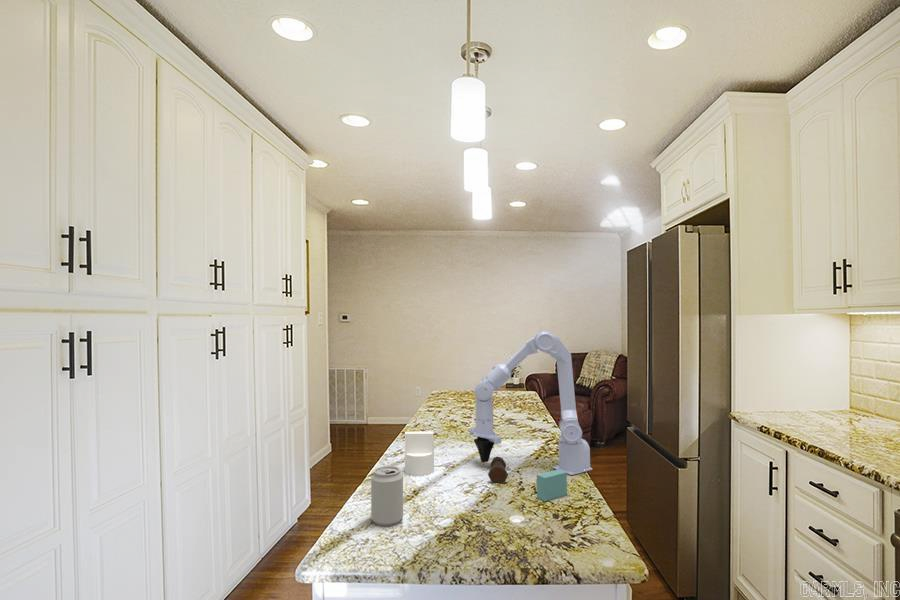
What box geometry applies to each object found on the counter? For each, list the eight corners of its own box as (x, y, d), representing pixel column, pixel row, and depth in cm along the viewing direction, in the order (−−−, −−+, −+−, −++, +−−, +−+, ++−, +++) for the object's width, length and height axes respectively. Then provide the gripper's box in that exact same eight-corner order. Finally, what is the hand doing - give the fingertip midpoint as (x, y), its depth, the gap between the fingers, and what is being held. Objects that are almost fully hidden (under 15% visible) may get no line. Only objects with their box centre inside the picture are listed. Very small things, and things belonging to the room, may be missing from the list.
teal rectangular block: (550, 487, 130) (550, 466, 130) (566, 494, 125) (566, 472, 125) (529, 494, 126) (529, 471, 126) (545, 501, 121) (544, 478, 121)
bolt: (500, 473, 148) (500, 489, 134) (486, 464, 149) (485, 479, 134) (509, 457, 148) (510, 471, 134) (495, 448, 149) (495, 462, 134)
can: (389, 530, 105) (389, 476, 106) (364, 522, 109) (364, 471, 110) (409, 518, 112) (409, 467, 112) (385, 511, 116) (385, 462, 116)
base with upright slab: (434, 466, 149) (433, 428, 150) (433, 476, 140) (433, 436, 141) (405, 466, 149) (405, 429, 150) (403, 476, 140) (403, 436, 141)
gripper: (461, 416, 154) (461, 457, 154) (488, 424, 142) (488, 470, 141) (478, 413, 158) (479, 454, 157) (506, 421, 146) (506, 465, 145)
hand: (484, 461), depth 150 cm, fingers closed
